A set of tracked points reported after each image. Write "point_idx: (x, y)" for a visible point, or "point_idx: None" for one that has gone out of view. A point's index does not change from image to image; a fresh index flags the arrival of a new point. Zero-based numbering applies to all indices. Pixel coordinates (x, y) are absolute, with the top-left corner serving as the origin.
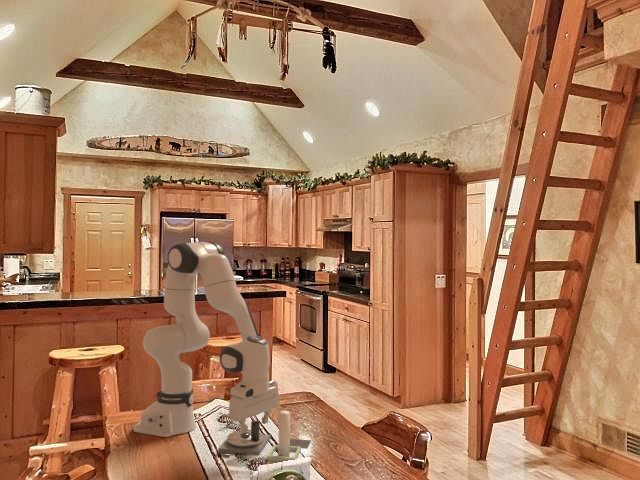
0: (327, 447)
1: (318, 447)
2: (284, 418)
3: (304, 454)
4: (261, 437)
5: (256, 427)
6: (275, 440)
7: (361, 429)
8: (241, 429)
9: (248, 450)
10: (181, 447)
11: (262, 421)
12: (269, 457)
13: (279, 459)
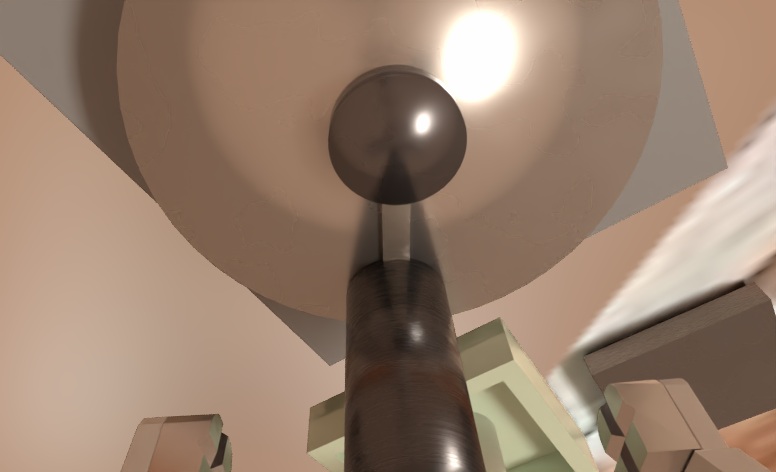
0: (760, 455)
1: (737, 430)
2: None
3: (589, 442)
4: (498, 291)
5: None
6: (735, 152)
7: None
8: (139, 441)
9: (263, 299)
10: None
11: (616, 415)
12: (320, 456)
13: None
